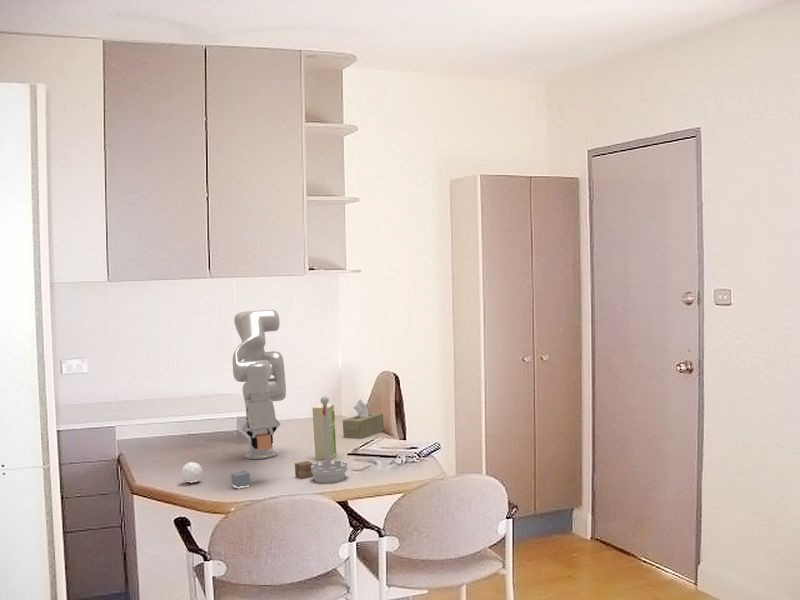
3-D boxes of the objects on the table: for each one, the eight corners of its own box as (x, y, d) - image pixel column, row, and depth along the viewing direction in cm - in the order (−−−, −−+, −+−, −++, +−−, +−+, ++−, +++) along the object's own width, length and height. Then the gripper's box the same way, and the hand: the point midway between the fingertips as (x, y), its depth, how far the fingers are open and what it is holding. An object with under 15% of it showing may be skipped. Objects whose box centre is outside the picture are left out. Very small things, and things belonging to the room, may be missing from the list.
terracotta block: (253, 448, 329) (252, 434, 329) (266, 446, 332) (265, 432, 331) (258, 450, 325) (257, 436, 325) (271, 448, 327) (270, 434, 327)
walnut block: (295, 476, 332) (294, 463, 332) (308, 474, 334) (307, 460, 334) (300, 479, 328) (300, 465, 327) (313, 476, 330) (312, 463, 330)
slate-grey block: (232, 487, 322) (231, 473, 322) (245, 484, 325) (244, 470, 324) (237, 489, 318) (236, 475, 317) (250, 487, 320) (249, 473, 320)
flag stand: (315, 475, 332) (310, 394, 331) (350, 473, 331) (345, 392, 329) (308, 484, 319) (302, 400, 318) (344, 482, 318) (339, 398, 316)
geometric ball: (187, 491, 331) (174, 473, 332) (204, 478, 336) (191, 461, 337) (192, 484, 326) (179, 466, 327) (209, 472, 331) (196, 454, 332)
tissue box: (366, 429, 414) (364, 395, 413) (384, 431, 409) (382, 396, 408) (343, 438, 398) (340, 402, 397) (361, 439, 393) (359, 403, 392)
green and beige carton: (333, 460, 355) (329, 407, 354) (315, 460, 357) (311, 407, 356) (338, 455, 363) (335, 403, 362) (321, 455, 364) (317, 404, 363)
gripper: (240, 401, 320) (243, 452, 321) (284, 395, 328) (288, 444, 329) (233, 399, 326) (236, 449, 327) (277, 393, 335) (280, 441, 336)
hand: (262, 446), depth 328 cm, fingers closed on terracotta block, 5 cm apart
